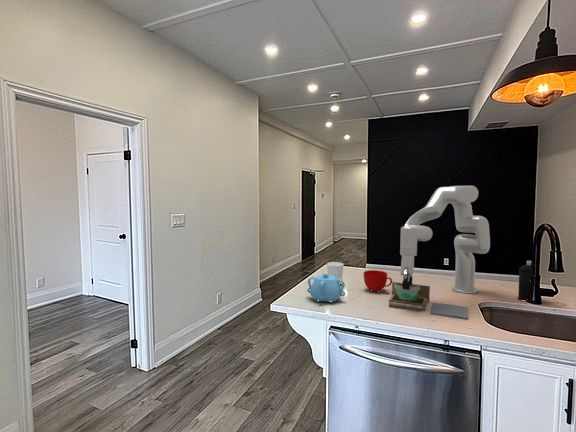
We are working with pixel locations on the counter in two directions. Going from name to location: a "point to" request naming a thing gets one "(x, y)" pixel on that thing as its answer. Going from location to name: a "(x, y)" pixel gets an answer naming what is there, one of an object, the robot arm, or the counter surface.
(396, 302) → the box
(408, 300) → the food container
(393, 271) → the counter surface
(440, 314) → the mat
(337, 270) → the cup
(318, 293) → the decorative pot
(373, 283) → the ceramic cup
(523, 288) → the black bottle
